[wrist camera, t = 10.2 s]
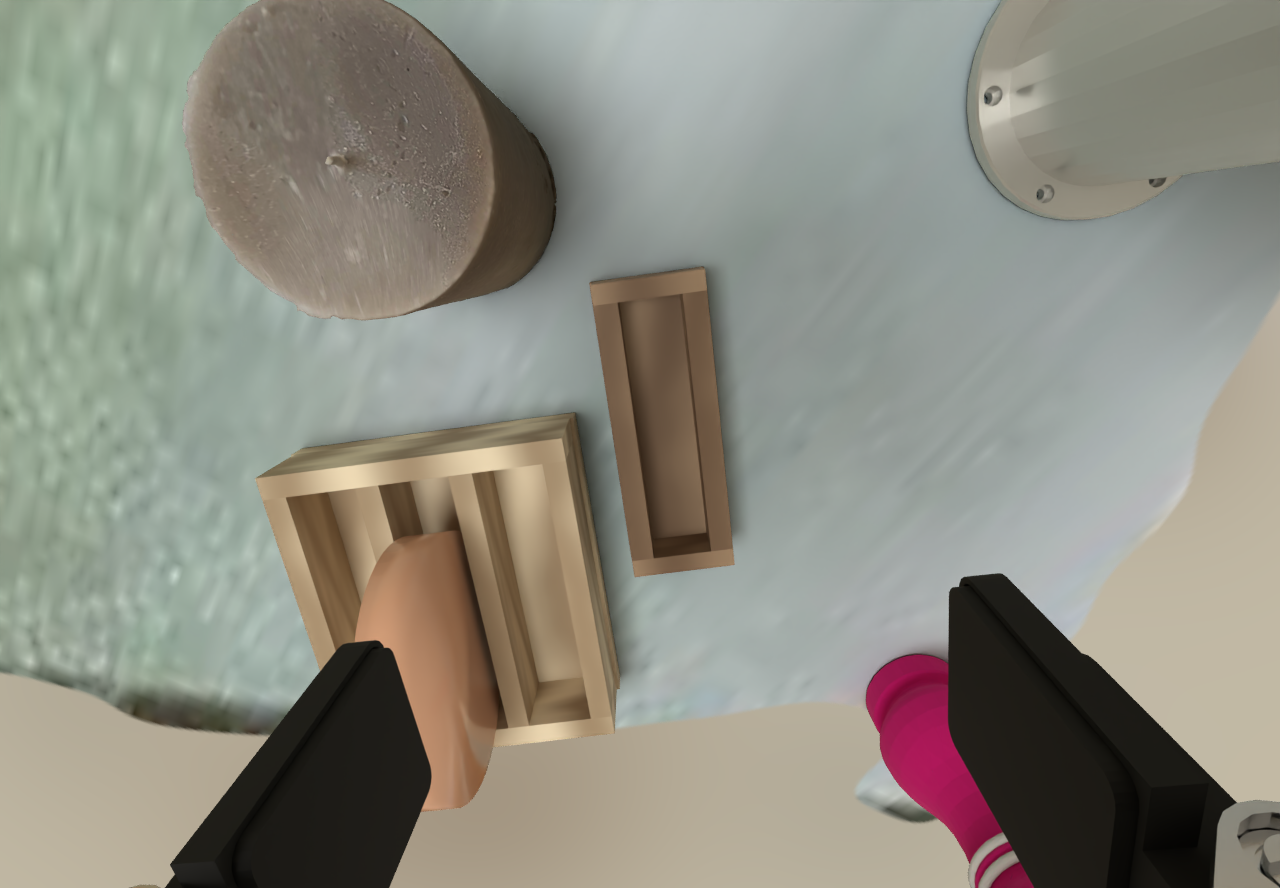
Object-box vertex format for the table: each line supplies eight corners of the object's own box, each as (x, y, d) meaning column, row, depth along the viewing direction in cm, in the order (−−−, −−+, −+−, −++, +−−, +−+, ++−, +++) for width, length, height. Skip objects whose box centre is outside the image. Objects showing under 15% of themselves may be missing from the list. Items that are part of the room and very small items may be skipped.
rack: (575, 412, 36) (565, 437, 31) (620, 676, 41) (618, 732, 36) (301, 448, 36) (251, 479, 32) (381, 704, 42) (348, 763, 37)
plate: (459, 483, 34) (379, 669, 23) (511, 654, 40) (468, 869, 29) (416, 488, 34) (315, 676, 23) (474, 658, 40) (417, 874, 29)
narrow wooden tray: (701, 266, 33) (709, 268, 30) (729, 537, 38) (738, 564, 35) (590, 281, 34) (585, 285, 30) (631, 549, 38) (631, 577, 35)
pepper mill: (987, 697, 42) (1283, 1076, 23) (897, 755, 43) (1104, 1157, 24) (928, 626, 40) (1194, 970, 21) (836, 688, 41) (1007, 1064, 22)
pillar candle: (572, 120, 31) (511, 6, 17) (539, 314, 34) (464, 358, 20) (377, 73, 31) (143, -85, 16) (360, 274, 34) (147, 290, 19)
